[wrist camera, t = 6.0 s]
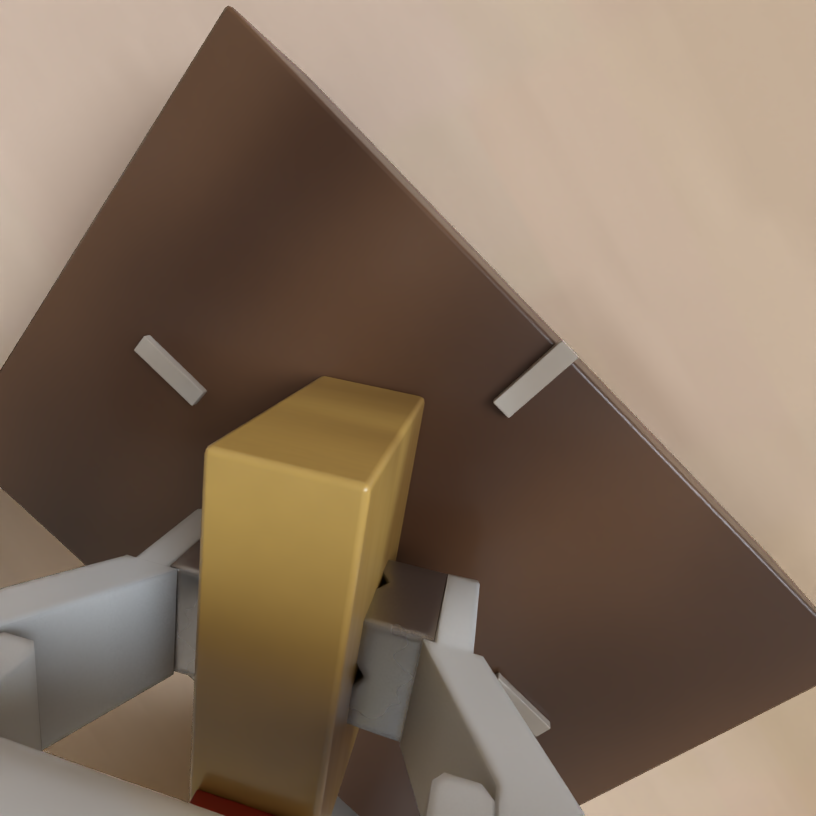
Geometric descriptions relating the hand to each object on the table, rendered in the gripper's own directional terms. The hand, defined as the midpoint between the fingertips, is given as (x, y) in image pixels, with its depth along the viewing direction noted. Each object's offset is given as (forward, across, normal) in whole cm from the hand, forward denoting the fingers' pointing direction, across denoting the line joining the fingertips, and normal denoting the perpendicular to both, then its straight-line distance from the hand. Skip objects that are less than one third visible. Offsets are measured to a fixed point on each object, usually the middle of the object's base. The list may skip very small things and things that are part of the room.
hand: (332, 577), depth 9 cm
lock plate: (+4, 0, 0) cm, 4 cm away
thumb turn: (+1, 0, 0) cm, 1 cm away
